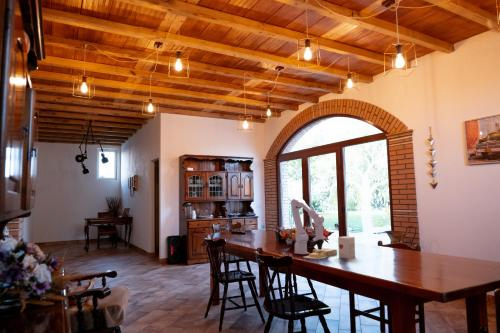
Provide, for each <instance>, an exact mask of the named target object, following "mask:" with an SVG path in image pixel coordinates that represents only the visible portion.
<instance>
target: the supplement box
mask: <svg viewBox="0 0 500 333" xmlns="http://www.w3.org/2000/svg"><path fill="white" fill-rule="evenodd" d="M337 240H338V244H337V245H338V258H341V259H349V260H350V259H353V258H356V249H355V248H356V243H355V237H354V236H338V238H337Z"/></svg>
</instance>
